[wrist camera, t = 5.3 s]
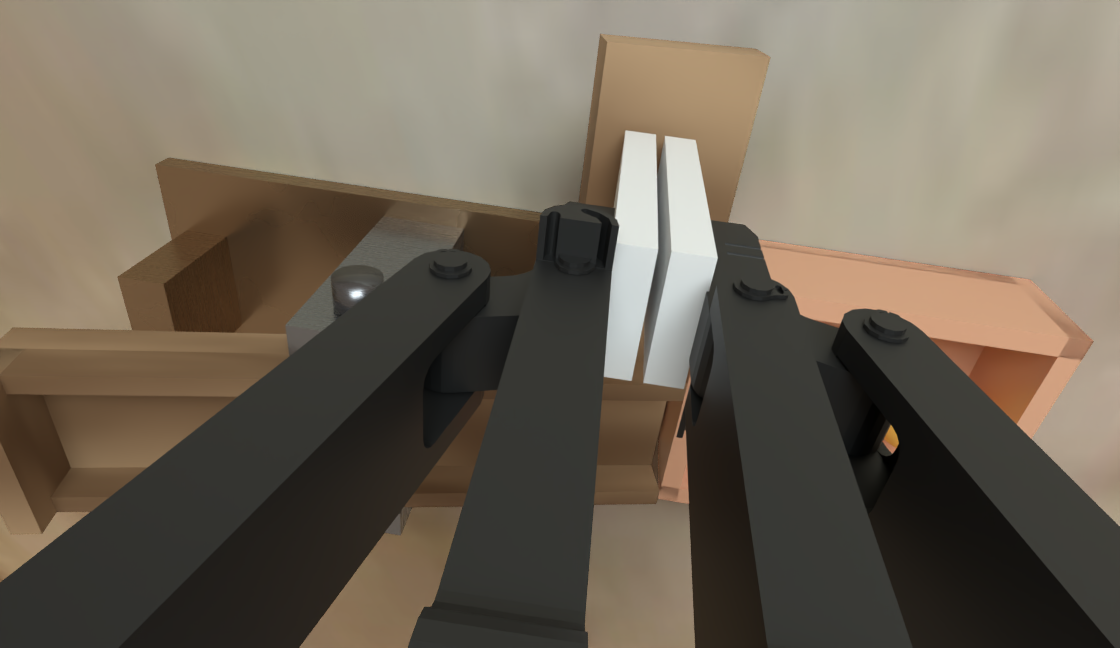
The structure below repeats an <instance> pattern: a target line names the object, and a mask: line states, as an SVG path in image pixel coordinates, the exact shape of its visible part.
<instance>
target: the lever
mask: <svg viewBox="0 0 1120 648" xmlns="http://www.w3.org/2000/svg"><path fill="white" fill-rule="evenodd" d="M769 61H770V57H769V56H768V55H766V54H764V53H762V52H760V51H759V50H757V49H752V48H742V47H731V46H721V45H710V44H700V43H689V42H679V41H668V40H657V39H647V38H636V37H626V36H615V35H605V34H600V40H599V48H598V56H597V63H596V71H595V79H594V87H593V95H592V103H591V110H590V118H589V126H588V134H587V142H586V149H585V157H584V165H583V173H582V181H581V189H580V196H579V203H583V204H590V205H597V206H604V207H611V208H613V207H614V200H615V194H616V188H617V181H618V175H619V169H620V162H621V156H622V150H623V143H624V137H625V131H626V130H627V131H634V132H641V133H649V134H656V158H657V175H658V170H659V164H660V159H661V154H662V149H663V143H664V138H665V136H670V137H677V138H685V139H692V140H696V145H697V150H698V156H699V161H700V166H701V172H702V177H703V182H704V188H705V193H706V198H707V204H708V209H709V214H710V220H714V221H721V222H728V220H729V216H730V212H731V208H732V204H733V200H734V197H735V193H736V189H737V185H738V181H739V177H740V173H741V170H742V166H743V162H744V158H745V154H746V150H747V146H748V142H749V139H750V135H751V131H752V127H753V123H754V119H755V115H756V111H757V108H758V104H759V100H760V96H761V92H762V88H763V84H764V80H765V77H766V73H767V69H768V65H769ZM288 357H289V350H288V342H287V335H286V334H261V333H219V332H177V331H136V330H94V329H52V328H12V329H11V330H10V331H9V332H7V333H6V334H5V335H4V336H3V337H2V338H1V339H0V514H1V516H2V518H3V520H4V522H5V524H6V526H7V528H8V530H9V532H10V534H42V533H43V532H44V530H45V529H46V527H47V526H48V524H49V523H50V521H51V520H52V518H53V517H54V515H55V514H56V512H91V511H92V510H94V509H95V508H96V507H98V506H99V505H100V504H101V503H103V502H104V501H105V500H106V499H108V498H109V497H110V496H112V495H113V494H114V493H115V492H117V491H118V490H119V489H120V488H122V487H123V486H124V485H126V484H127V483H128V482H129V481H131V480H132V479H133V478H135V477H136V476H137V475H138V474H140V473H141V472H142V471H143V470H145V469H146V468H147V467H149V466H150V465H151V464H152V463H154V462H155V461H156V460H158V459H159V458H160V457H161V456H163V455H164V454H165V453H166V452H168V451H169V450H170V449H172V448H173V447H174V446H175V445H177V444H178V443H179V442H181V441H182V440H183V439H184V438H186V437H187V436H188V435H189V434H191V433H192V432H193V431H195V430H196V429H197V428H198V427H200V426H201V425H202V424H204V423H205V422H206V421H207V420H209V419H210V418H211V417H212V416H214V415H215V414H216V413H218V412H219V411H220V410H221V409H223V408H224V407H225V406H227V405H228V404H229V403H230V402H232V401H233V400H234V399H235V398H237V397H238V396H239V395H241V394H242V393H243V392H244V391H246V390H247V389H248V388H250V387H251V386H252V385H253V384H255V383H256V382H257V381H258V380H260V379H261V378H262V377H264V376H265V375H266V374H267V373H269V372H270V371H271V370H273V369H274V368H275V367H276V366H278V365H279V364H280V363H281V362H283V361H284V360H285V359H287V358H288ZM643 366H644V322H643V327H642V332H641V337H640V342H639V347H638V352H637V357H636V362H635V366H634V371H633V376H632V381H628V380H622V379H615V378H609V377H604V380H603V393H602V405H601V418H600V431H599V444H598V457H597V470H596V482H595V495H594V505H605V504H656V502H657V499H658V495H659V488H658V485H657V482H656V479H655V475H654V472H653V469H652V466H651V464H652V460H653V456H654V451H655V447H656V443H657V439H658V435H659V431H660V427H661V423H662V419H663V414H664V410H665V406H666V402H667V401H683V398H684V395H685V391H686V387H687V385H686V383H685V386H684V389H680V388H673V387H667V386H660V385H654V384H647V383H643ZM496 393H497V390H490V391H484V397H483V399H482V402H481V404H480V406H479V407H478V408H477V410H476V411H475V412H474V414H473V415H472V416H471V418H470V419H469V420H468V422H467V423H466V424H465V426H464V427H463V428H462V430H461V431H460V432H459V434H458V435H457V436H456V438H455V439H454V440H453V442H452V443H451V444H450V446H449V447H448V448H447V450H446V451H445V453H444V454H443V455H442V457H441V458H440V459H439V461H438V462H437V463H436V465H435V466H434V467H433V469H432V470H431V471H430V473H429V474H428V475H427V477H426V478H425V479H424V481H423V482H422V483H421V485H420V486H419V487H418V489H417V490H416V491H415V493H414V494H413V495H412V497H411V498H410V499H409V501H408V502H407V503H406V505H405V506H404V507H459V506H463V505H464V501H465V498H466V494H467V491H468V488H469V484H470V481H471V477H472V474H473V471H474V467H475V464H476V460H477V457H478V454H479V450H480V447H481V444H482V440H483V437H484V433H485V430H486V427H487V423H488V420H489V416H490V413H491V410H492V406H493V403H494V400H495V396H496Z"/></svg>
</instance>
